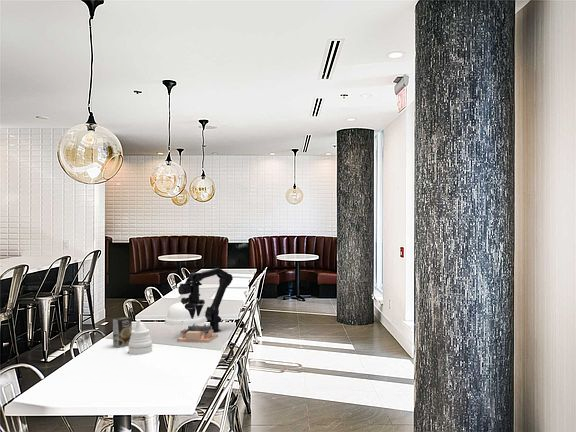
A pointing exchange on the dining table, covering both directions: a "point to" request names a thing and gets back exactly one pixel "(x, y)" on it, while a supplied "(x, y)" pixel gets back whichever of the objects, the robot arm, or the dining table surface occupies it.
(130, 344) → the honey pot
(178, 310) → the dome cover
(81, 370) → the dining table surface
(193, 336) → the display stand
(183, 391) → the dining table surface
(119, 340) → the coffee box
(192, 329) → the glasses frame
